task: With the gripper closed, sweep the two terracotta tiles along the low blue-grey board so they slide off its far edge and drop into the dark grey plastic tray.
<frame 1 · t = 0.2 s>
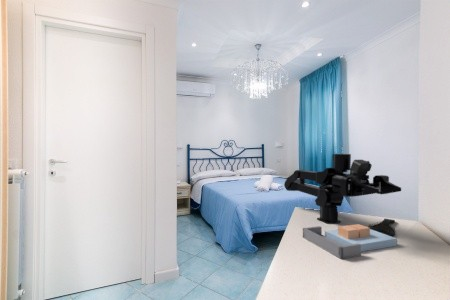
hand: (389, 190, 69), 17 cm above the table, tool horizontal, fingers open, 9 cm apart
black spiral-grooved part: (384, 229, 85), on the table
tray: (329, 245, 69), on the table
tile a: (359, 234, 72), point 2 cm above the table, touching board
tile b: (348, 236, 71), point 2 cm above the table, touching board
board: (359, 240, 72), on the table
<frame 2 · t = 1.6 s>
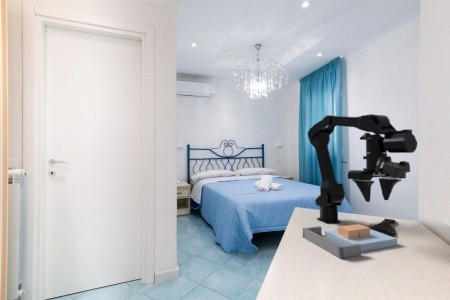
hand: (377, 201, 74), 12 cm above the table, tool pointing down, fingers open, 8 cm apart
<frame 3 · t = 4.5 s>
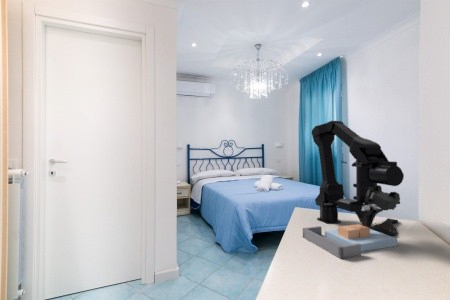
hand: (366, 230, 73), 3 cm above the table, tool pointing down, fingers closed
tile a: (359, 234, 72), point 2 cm above the table, touching gripper
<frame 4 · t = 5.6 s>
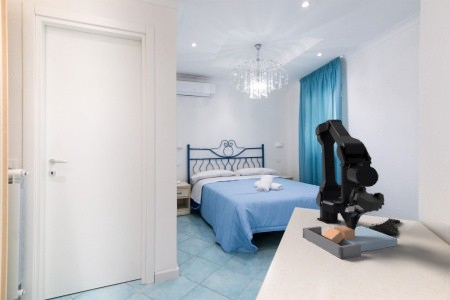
hand: (351, 232, 71), 3 cm above the table, tool pointing down, fingers closed
tile a: (344, 236, 70), point 2 cm above the table, touching gripper, tile b
tile b: (334, 239, 69), point 2 cm above the table, tilted 30°, touching tile a
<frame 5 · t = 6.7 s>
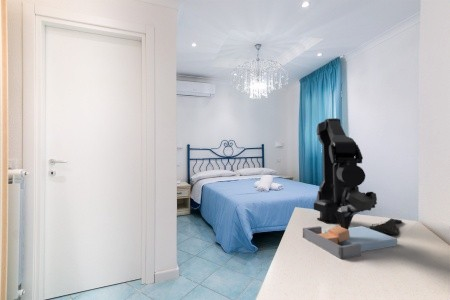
hand: (345, 232, 70), 3 cm above the table, tool pointing down, fingers closed
tile a: (339, 237, 70), point 2 cm above the table, tilted 11°, touching board, gripper, tile b
tile b: (327, 243, 69), point 1 cm above the table, touching tile a, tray
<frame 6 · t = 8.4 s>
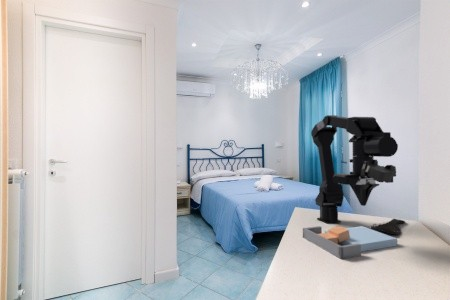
hand: (363, 205, 73), 11 cm above the table, tool pointing down, fingers closed
tile a: (339, 237, 70), point 2 cm above the table, tilted 11°, touching board, tile b
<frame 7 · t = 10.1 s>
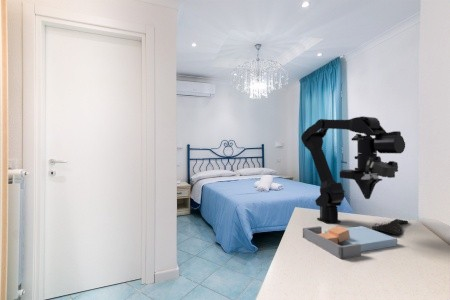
hand: (367, 198, 78), 12 cm above the table, tool pointing down, fingers closed
at the end: tile a inside the target area (3.8 cm from its centre), point 2.0 cm above the table; tile b inside the target area (0.5 cm from its centre), point 0.5 cm above the table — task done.
